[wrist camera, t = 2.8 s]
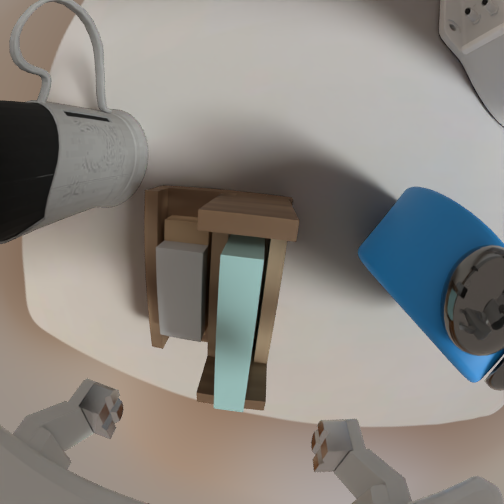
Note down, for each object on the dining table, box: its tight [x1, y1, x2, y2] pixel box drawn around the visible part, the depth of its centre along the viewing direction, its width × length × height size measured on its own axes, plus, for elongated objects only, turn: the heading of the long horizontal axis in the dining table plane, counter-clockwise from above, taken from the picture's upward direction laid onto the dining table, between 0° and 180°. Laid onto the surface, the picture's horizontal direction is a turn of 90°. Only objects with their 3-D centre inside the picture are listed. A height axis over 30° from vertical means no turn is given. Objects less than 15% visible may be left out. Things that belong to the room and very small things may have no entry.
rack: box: [144, 185, 299, 410], centre depth 18 cm, size 13×10×8 cm
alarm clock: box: [358, 187, 504, 391], centre depth 14 cm, size 13×6×15 cm, turn 53°
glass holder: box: [0, 0, 148, 244], centre depth 12 cm, size 9×14×15 cm, turn 156°
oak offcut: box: [164, 215, 213, 335], centre depth 20 cm, size 9×3×2 cm, turn 174°
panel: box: [214, 234, 265, 412], centre depth 17 cm, size 10×2×8 cm, turn 174°
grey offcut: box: [156, 240, 208, 342], centre depth 19 cm, size 7×3×2 cm, turn 174°
